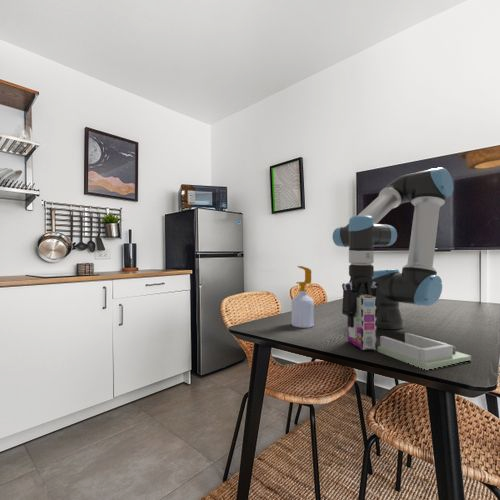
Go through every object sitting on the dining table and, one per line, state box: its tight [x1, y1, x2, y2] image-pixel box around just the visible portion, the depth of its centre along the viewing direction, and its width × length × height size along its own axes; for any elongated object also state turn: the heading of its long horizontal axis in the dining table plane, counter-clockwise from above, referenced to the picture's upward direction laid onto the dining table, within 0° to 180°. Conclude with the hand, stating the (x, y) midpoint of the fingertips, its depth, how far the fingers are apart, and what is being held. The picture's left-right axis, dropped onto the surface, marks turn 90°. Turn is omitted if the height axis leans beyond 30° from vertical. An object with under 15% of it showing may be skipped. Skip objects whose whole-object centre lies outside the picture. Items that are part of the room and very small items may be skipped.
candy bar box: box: [346, 294, 378, 351], centre depth 97 cm, size 11×5×16 cm, turn 5°
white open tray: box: [377, 332, 472, 371], centre depth 88 cm, size 18×16×4 cm
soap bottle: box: [291, 265, 315, 329], centre depth 125 cm, size 9×9×25 cm
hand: (361, 335), depth 97 cm, fingers closed on candy bar box, 6 cm apart
